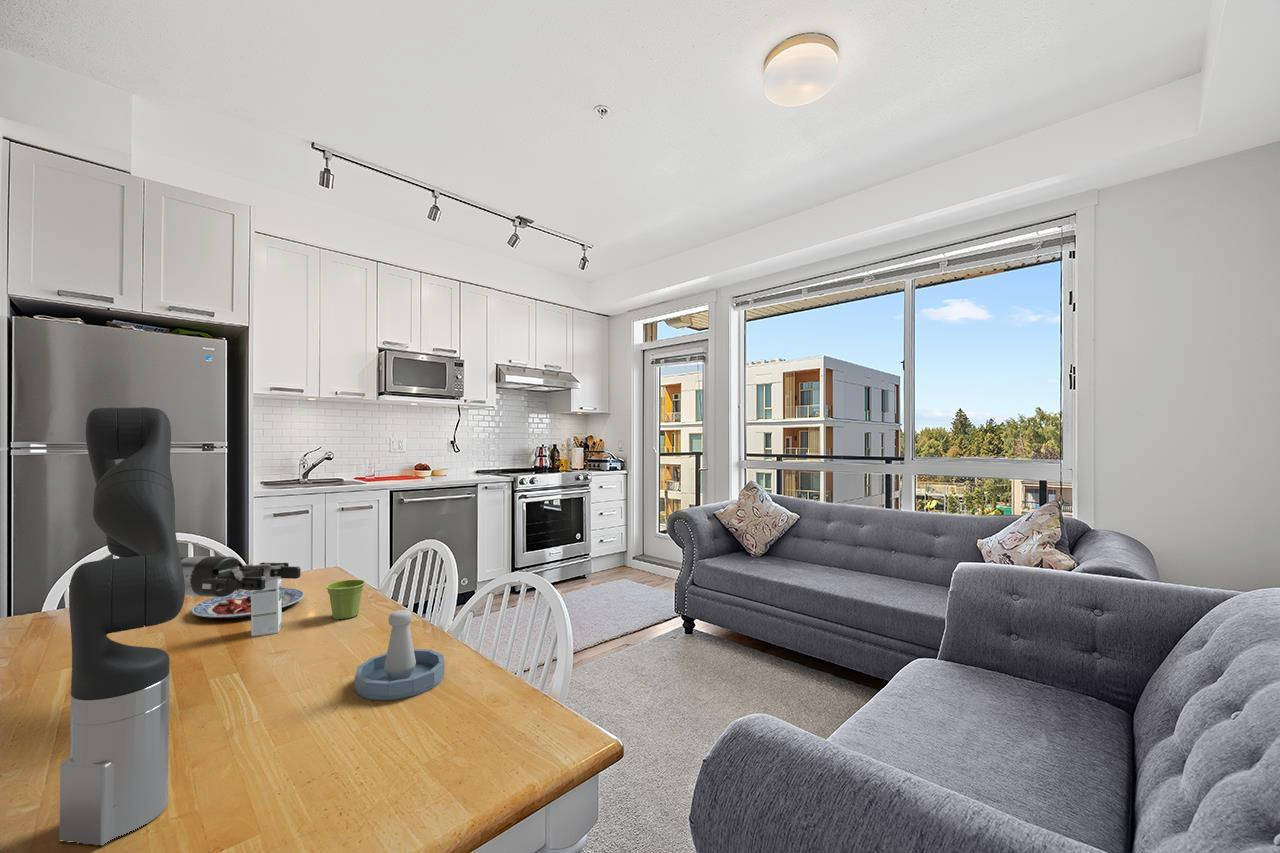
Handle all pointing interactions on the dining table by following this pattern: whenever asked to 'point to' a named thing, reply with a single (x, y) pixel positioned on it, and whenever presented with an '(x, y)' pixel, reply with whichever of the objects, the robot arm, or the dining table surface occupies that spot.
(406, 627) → the salt shaker
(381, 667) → the bowl
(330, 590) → the plant pot
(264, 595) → the syrup box
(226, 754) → the dining table surface
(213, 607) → the ceramic plate
